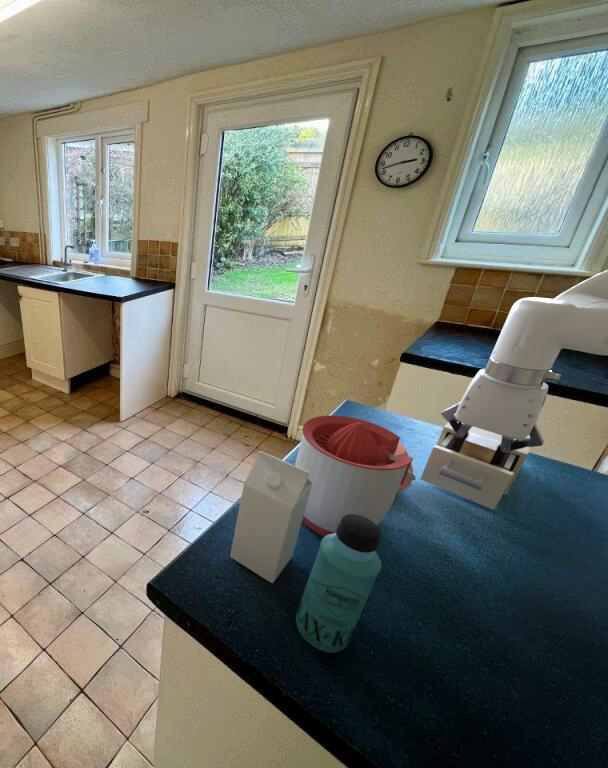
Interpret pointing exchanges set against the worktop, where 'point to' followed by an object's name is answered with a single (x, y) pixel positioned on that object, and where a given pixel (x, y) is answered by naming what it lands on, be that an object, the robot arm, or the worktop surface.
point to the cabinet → (520, 453)
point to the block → (479, 447)
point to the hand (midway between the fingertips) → (474, 458)
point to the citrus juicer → (349, 470)
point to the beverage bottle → (339, 584)
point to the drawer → (467, 474)
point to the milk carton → (270, 515)
